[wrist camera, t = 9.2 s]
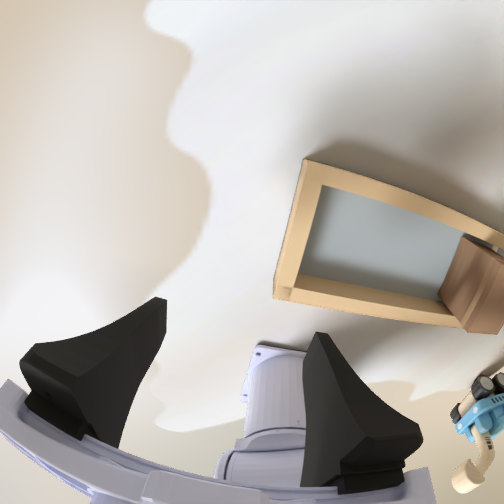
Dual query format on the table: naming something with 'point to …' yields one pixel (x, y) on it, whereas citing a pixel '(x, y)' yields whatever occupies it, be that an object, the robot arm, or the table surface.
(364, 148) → the table surface
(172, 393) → the table surface
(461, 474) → the toy excavator
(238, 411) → the table surface
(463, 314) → the box
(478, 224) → the bay
